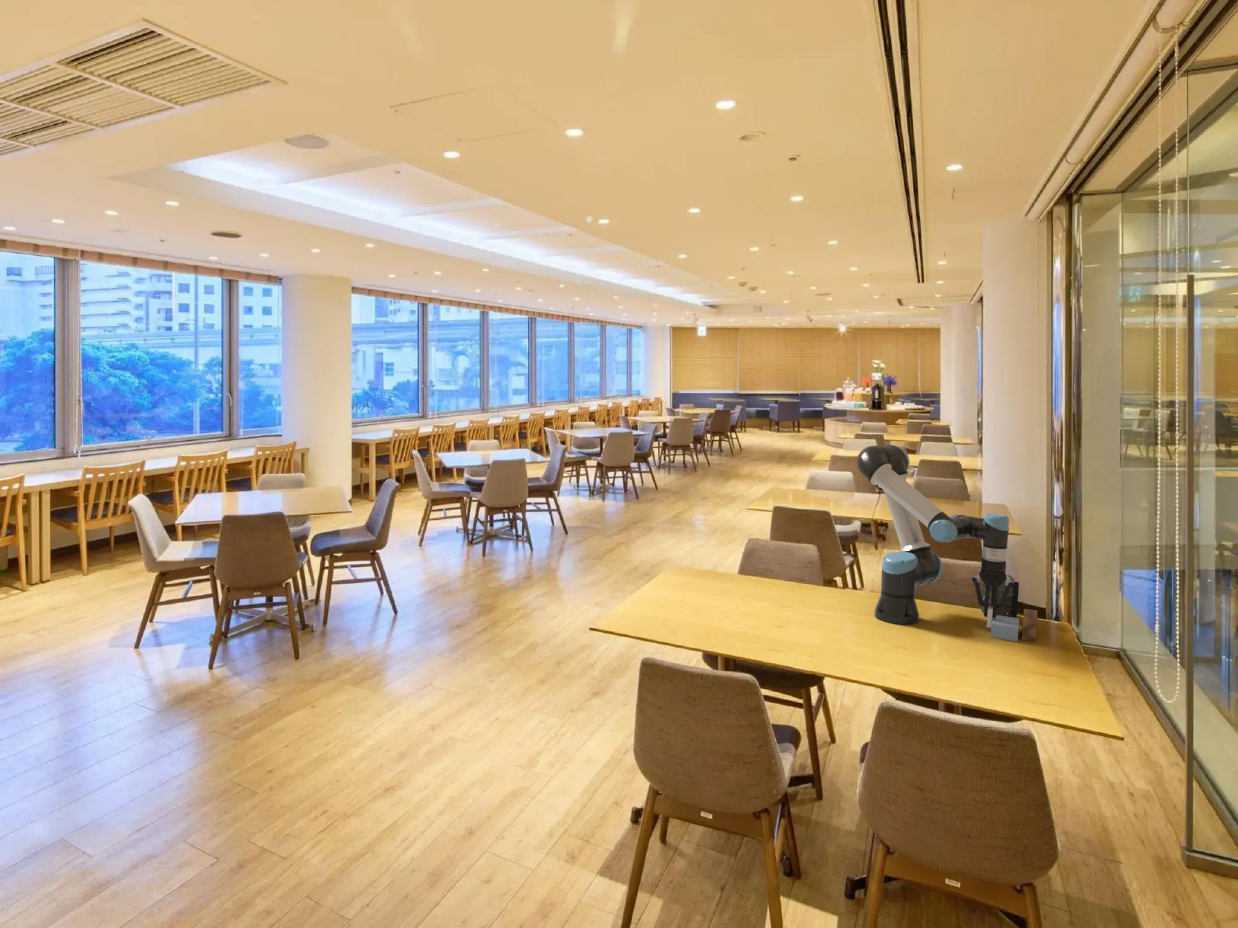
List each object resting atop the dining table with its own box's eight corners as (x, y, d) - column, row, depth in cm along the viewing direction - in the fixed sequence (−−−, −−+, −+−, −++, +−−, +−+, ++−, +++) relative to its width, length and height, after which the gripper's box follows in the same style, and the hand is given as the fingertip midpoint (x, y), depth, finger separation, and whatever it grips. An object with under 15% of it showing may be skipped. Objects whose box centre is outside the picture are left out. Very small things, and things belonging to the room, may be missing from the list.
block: (990, 637, 246) (991, 623, 246) (992, 628, 257) (993, 614, 256) (1017, 642, 242) (1018, 627, 242) (1017, 632, 253) (1019, 618, 252)
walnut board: (1021, 639, 244) (1023, 622, 244) (1022, 625, 260) (1024, 608, 259) (1035, 641, 242) (1036, 624, 242) (1035, 627, 258) (1037, 610, 257)
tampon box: (1017, 621, 264) (1020, 581, 262) (989, 619, 266) (992, 580, 264) (1007, 612, 275) (1010, 574, 273) (981, 610, 276) (983, 572, 275)
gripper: (972, 558, 249) (967, 625, 252) (1015, 563, 243) (1010, 632, 245) (973, 554, 256) (969, 620, 258) (1016, 559, 249) (1011, 626, 252)
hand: (989, 626), depth 252 cm, fingers closed
